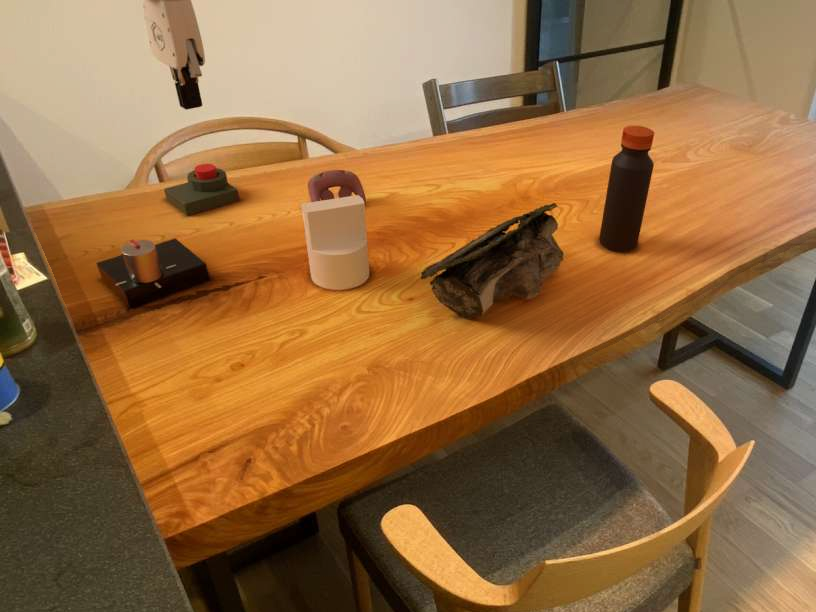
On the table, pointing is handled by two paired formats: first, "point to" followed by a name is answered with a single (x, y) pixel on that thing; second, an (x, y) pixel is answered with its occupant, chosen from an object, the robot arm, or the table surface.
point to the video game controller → (334, 185)
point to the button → (205, 171)
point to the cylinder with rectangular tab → (337, 242)
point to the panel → (177, 275)
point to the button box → (202, 193)
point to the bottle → (627, 190)
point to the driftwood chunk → (498, 264)
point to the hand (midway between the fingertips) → (191, 106)
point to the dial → (142, 261)
